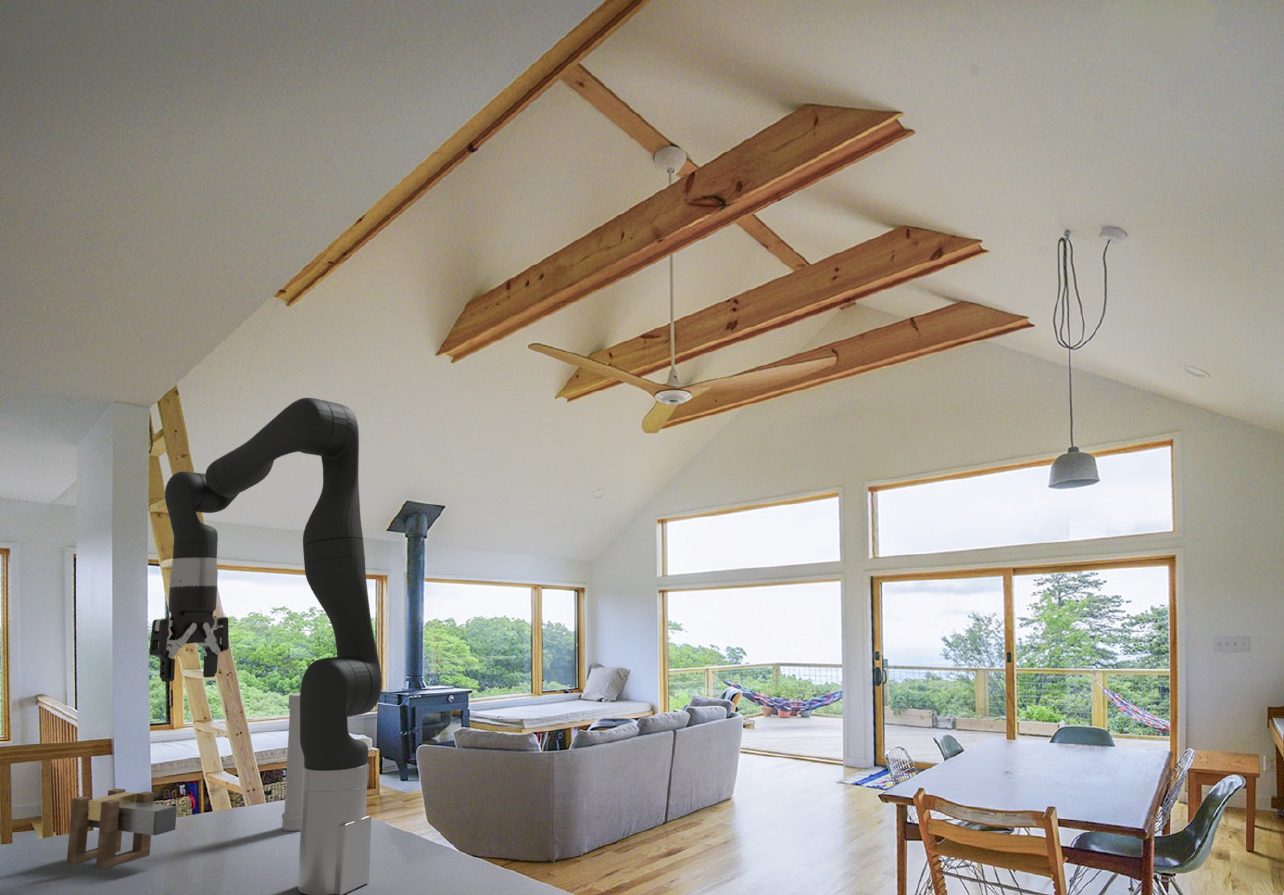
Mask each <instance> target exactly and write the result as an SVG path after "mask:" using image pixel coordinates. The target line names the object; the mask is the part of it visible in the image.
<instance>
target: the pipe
mask: <svg viewBox="0 0 1284 895" xmlns="http://www.w3.org/2000/svg"><path fill="white" fill-rule="evenodd" d="M288 664H289V665H290V666H292V668H293V669H295V671H296V672H297V674H298V676H299V678H300V681H301V682H302V679H303V677H302V675H301V673H300V672H299V670H298V669H297V668H296V666H294V665H293V663H291V662H288ZM287 709H288V710H289V717H288V718H289V719H288V720H289V721H288V738H287V758H286V775H285V776H286V777H285V778H286V780H285V798H284V799H285V800H284V813H282V814H281V820H282V823H281V828H282V830H283V831H287V832H297V831H300V832H301V813H302V793H303V774H304V755H303V751H302V748H301V744H300V692H294V693H290V694H289V695H288V704H287Z"/></svg>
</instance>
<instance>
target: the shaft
mask: <svg viewBox="0 0 1284 895" xmlns="http://www.w3.org/2000/svg"><path fill="white" fill-rule="evenodd" d="M177 810H178V806H177V805H176V806H175V805H169V804H168V805H166V804H157V803H153V804H150V803H141V802H132V801H128V802H124V803H120V805H119V817H118V829H117V830H118V831H122V832H125V833H133V834H134V833H141V834H148V835H151V836H159V835H162V834H166V833H168V832H173V831H176V825H177V824H176V822H177V812H178V811H177ZM99 826H100V821H97V820H88V828H95V829H96V828H97V829H99Z"/></svg>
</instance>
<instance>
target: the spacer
mask: <svg viewBox="0 0 1284 895" xmlns="http://www.w3.org/2000/svg"><path fill="white" fill-rule="evenodd" d="M137 793H138V792H130V791H125V792H123V793H118V794H114V795H110V796H108V795H106V796H101V797H97V798H92V799H90V800H89V803H88V807H89V810H88V819H89V820H97V821H100V814H101V803H102V802H103V801H107V800H119V801H120V803H124V802H128V801H132V802H136V798H137Z"/></svg>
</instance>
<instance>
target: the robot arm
mask: <svg viewBox="0 0 1284 895" xmlns="http://www.w3.org/2000/svg"><path fill="white" fill-rule="evenodd" d="M359 431H360V430H359V424H358V420H357V417H356V415H355V412H354V411H353V410H352V409H351V408H350V407H349V406H346V405H345V404H341V403H338V402H333V401H328V400H324V399H319V398H314V397H302V398H299V399H297V400H294V401H293V402H292V403H290V404H289V405H287V407H285V408H284V409H282V411H280V412H279V413H278V414H277V415H276V416H275V417H273V419H272V420H270V421H269V422H268V423H267V424H266V425H265V426H263V428H261V429H260V430H259V431H258V432H257V433H256V434H254V435H253V436H252V437H251V438H250V439H248V440H247V441H246V442H245V443H243V444H241V445H240V446H238V447H236V448H234V449H233V450H231V451H229V452H226V454H224V455H222V456H221V457H218V458H216V459H215V460H214V461H212V462H211V463H210V464H209V465H208V467H207V468H206V470H205V473H201V472H193V471H192V472H191V471H178V472H176V473H174V474H173V475H172V476H171V477H170V478H169V479H168V481H167V483H166V485H165V491H164V499H165V501H164V502H165V505H166V509H167V513H168V517H169V521H170V526H171V530H172V535H173V549H172V562H171V567H170V568H171V569H170V575H169V588H168V589H169V590H168V608H167V609H168V612H169V613H170V618H169V619H168V618H162V619H161V618H158V619H154V620H152V624H151V625H152V626H151V634H150V642H149V652H148V654H149V655H150V656H154V657H158V658H159V659H160V660H159V662H160V663H159V678H160V679H161V682H163V683H166V682H168V683H170V682H173V681H175V672H176V670H175V669H176V658H175V656H176V655H177V653H178V652H179V650H180V649H182V648H183V647H184V646H185V645H187V644H188V645H189V644H196V645H197V646H199V647H200V648H201V649H202V651H203V653H204V654H205V655H204V656H203V672H202V673H203V674H202V676H203V678H214V677H216V674H217V673H218V665H219V664H218V661H219V660H218V659H219V655H220V653H222V652H225V651H228V650H229V641H230V640H229V618H228V617H227V616H224V617H223V616H220V617H215V618H214V611H216V609H217V601H218V600H217V598H218V597H217V596H218V573H219V572H218V560H217V559H218V542H219V540H218V539H219V537H218V530H217V529H216V528H215V527H213V526H211V525H209V524H208V525H207V524H205V523H203V522H201V521H200V519H199V516H198V514H197V513H202V514H203V513H204V514H214V513H219V512H222V511H224V510H225V509H226V508H228V507H229V506H230V505H231V503H232V502H233V501H235V499H236V498H237V496H238V495H239V494H240V493H242V492H245V491H247V490H248V489H250V488H251V487H254V486H256V485H258V484H259V483H260V482H262V481H263V480H264V479H266V477H267V476H268V475H269V474H270V472H271V470H272V468H273V466H274V461H275V460H277V459H279V458H281V457H284V456H287V455H289V454H290V455H291V454H293V453H298V452H299V453H301V454H305V455H313V456H319V457H320V458H321V464H322V488H321V493H320V495H319V497H318V499H317V502H316V504H315V505H314V508H313V510H312V512H311V513H310V516H309V518H308V520H307V522H306V524H305V528H304V531H303V535H302V551H303V564H304V572H305V578H306V580H307V583H308V585H309V587H310V590H311V591H312V593H313V594H314V596H315V598H316V599H317V601H318V603H319V605H320V606H321V608H322V609H323V611H324V612H325V614H326V616H327V617H328V619H329V621H330V623H331V628H332V631H333V634H334V640H335V646H336V656H332V657H324V658H319V659H316V660H314V661H313V662H311V663H310V664H309V665H308V667H307V668H306V670H305V671H304V674H303V676H302V681H301V684H300V692H299V693H300V744H301V748H302V751H303V755H304V774H303V793H302V813H301V830H300V833H299V835H300V837H299V854H298V855H299V857H298V880H297V882H298V884H297V890H298V892H299V893H302V894H304V895H345V894H347V893H349V892H351V891H353V890H355V889H357V888H359V887H362V886H364V885H366V884H368V883H370V867H371V866H370V865H371V862H370V861H371V839H372V838H371V836H372V816H371V815H369V814H367V799H368V798H367V794H368V793H367V791H368V773H369V772H368V770H369V768H368V767H369V746H368V744H367V743H366V742H365V741H362V740H361V739H360V740H359V739H355V738H353V736H351V735H350V732H349V726H348V718H351V717H355V716H361V715H364V714H367V713H369V712H371V711H372V710H374V708H375V707H376V706H377V704H378V702H379V700H380V697H381V693H382V685H383V683H382V671H381V664H380V658H379V655H378V650H377V649H378V648H377V645H376V644H377V643H376V639H375V635H374V629H373V623H372V616H371V610H370V609H371V608H370V600H369V591H368V584H367V582H368V581H367V575H366V574H367V572H366V557H365V545H364V543H365V542H364V536H363V529H362V528H363V527H362V520H361V504H360V488H359V487H360V486H359V484H360V483H359V470H360V468H359V467H360V466H359V465H360V464H359V458H360V452H359V451H360V435H359V434H360V432H359ZM169 631H170V633H169Z"/></svg>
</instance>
